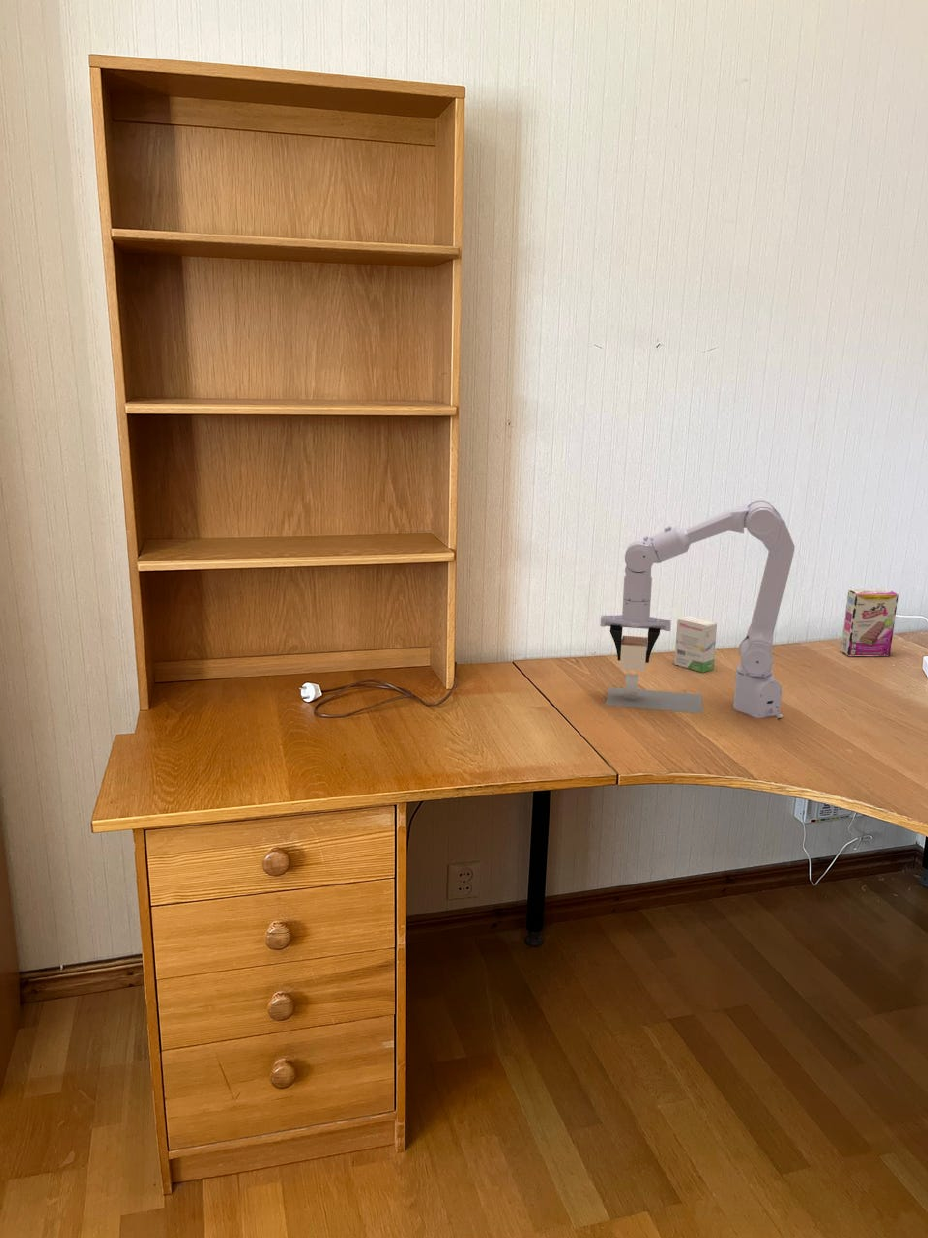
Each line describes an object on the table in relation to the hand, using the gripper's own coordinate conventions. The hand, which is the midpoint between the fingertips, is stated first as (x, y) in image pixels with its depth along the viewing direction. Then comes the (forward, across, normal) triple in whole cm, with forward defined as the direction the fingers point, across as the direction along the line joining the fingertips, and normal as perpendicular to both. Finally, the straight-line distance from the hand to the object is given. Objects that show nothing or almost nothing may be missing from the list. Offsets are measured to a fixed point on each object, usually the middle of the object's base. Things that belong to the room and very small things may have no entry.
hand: (633, 660), depth 206 cm
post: (+9, 0, 0) cm, 9 cm away
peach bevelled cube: (+1, 0, 0) cm, 1 cm away
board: (+9, +5, 0) cm, 11 cm away
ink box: (+10, +13, +29) cm, 33 cm away
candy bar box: (+10, +56, +51) cm, 76 cm away
